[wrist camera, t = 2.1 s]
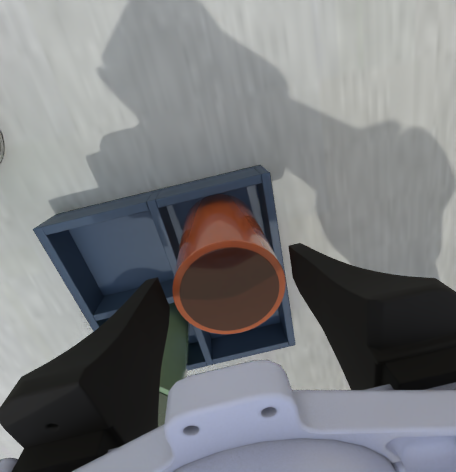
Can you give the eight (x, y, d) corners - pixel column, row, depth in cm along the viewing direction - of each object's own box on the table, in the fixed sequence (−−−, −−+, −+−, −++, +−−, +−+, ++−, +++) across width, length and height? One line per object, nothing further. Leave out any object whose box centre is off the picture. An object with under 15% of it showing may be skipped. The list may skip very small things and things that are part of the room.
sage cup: (180, 289, 22) (168, 375, 14) (197, 337, 24) (195, 431, 17) (116, 305, 22) (72, 398, 14) (139, 350, 24) (112, 450, 17)
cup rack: (260, 164, 19) (270, 171, 16) (285, 321, 25) (295, 345, 22) (55, 214, 19) (31, 229, 16) (133, 357, 25) (125, 385, 22)
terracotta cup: (248, 185, 19) (278, 228, 11) (260, 251, 21) (292, 322, 14) (174, 203, 19) (155, 257, 11) (194, 267, 21) (190, 345, 14)
